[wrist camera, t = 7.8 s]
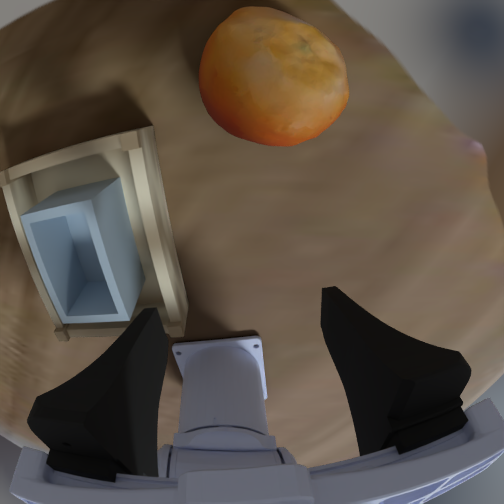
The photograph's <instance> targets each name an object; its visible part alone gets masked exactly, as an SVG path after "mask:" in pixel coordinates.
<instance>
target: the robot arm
mask: <svg viewBox="0 0 504 504" xmlns="http://www.w3.org/2000/svg"><path fill="white" fill-rule="evenodd" d="M321 328H322V332H323V335H324V339H325V342H326V345H327V347H328V350H329V352H330V355H331V357H332V359H333V362H334V364H335V366H336V369H337V371H338V373H339V376H340V378H341V381H342V383H343V386H344V389H345V392H346V396H347V399H348V403H349V407H350V411H351V415H352V419H353V423H354V427H355V432H356V437H357V442H358V447H359V453H360V457H356V458H352V459H348V460H344V461H340V462H336V463H331V464H327V465H322V466H317V467H312V468H307V467H306V466H303V465H299V464H297V462H296V460H295V458H294V456H293V455H292V454H291V453H290V452H289V451H288V450H287V449H286V448H284V447H278V448H277V447H276V440H275V436H269V433H268V425H267V418H266V410H265V403H264V400H265V399H266V398H267V390H266V380H265V371H264V361H263V352H262V342H261V338H260V337H259V336H247V337H239V338H229V339H219V340H208V341H197V342H184V343H174V344H173V346H172V351H173V353H174V356H175V359H176V362H177V364H178V367H179V370H180V372H181V375H182V377H183V386H182V396H181V406H180V417H179V428H178V433H174V441H173V446H172V445H169V444H164V445H163V446H162V448H160V449H159V450H158V451H157V424H158V408H159V400H160V395H161V390H162V385H163V380H164V375H165V370H166V364H167V356H168V339H167V336H166V333H165V330H164V327H163V324H162V321H161V318H160V315H159V312H158V309H157V307H153V308H144V309H143V310H142V311H141V312H140V313H139V314H138V316H137V317H136V318H135V319H134V320H133V321H132V323H131V324H130V325H129V326H128V327H127V328H126V330H125V331H124V332H123V333H122V334H121V335H120V337H119V338H118V339H117V340H116V341H115V342H114V343H113V344H112V345H111V346H110V347H109V348H108V349H107V350H106V351H105V352H104V353H103V354H102V355H101V356H100V357H99V358H98V359H96V360H95V361H94V362H93V363H92V364H91V365H89V366H88V367H87V368H85V369H84V370H83V371H81V372H80V373H79V374H77V375H76V376H75V377H73V378H71V379H70V380H68V381H67V382H65V383H63V384H62V385H60V386H58V387H56V388H54V389H52V390H50V391H48V392H46V393H44V394H42V395H40V396H37V398H36V400H35V402H34V404H33V407H32V409H31V411H30V414H29V416H28V419H27V423H28V425H29V427H30V429H31V430H32V431H33V432H34V434H35V435H36V436H37V437H38V438H39V439H40V440H41V441H43V442H44V443H45V444H46V445H47V446H48V447H49V448H50V451H49V455H48V454H46V453H45V452H42V451H40V450H36V449H32V448H29V447H25V446H24V447H23V448H22V451H21V455H20V457H19V460H18V463H17V466H16V470H15V473H14V476H13V480H12V483H11V486H10V490H9V491H10V493H12V494H13V495H15V496H16V497H18V498H20V499H21V500H23V501H24V502H26V503H27V504H422V503H424V502H427V501H429V500H431V499H432V498H435V497H437V496H439V495H441V494H442V493H444V492H446V491H448V490H450V489H452V488H454V487H456V486H457V485H459V484H461V483H463V482H464V481H466V480H468V479H470V478H471V477H473V476H475V475H477V474H478V473H480V472H481V471H483V470H485V469H486V468H487V467H488V466H490V465H491V464H492V463H493V462H494V461H495V460H496V459H497V458H498V457H499V456H500V455H501V454H502V453H504V420H503V418H502V417H501V415H500V413H499V412H498V410H497V409H496V407H495V405H494V404H493V402H492V401H491V399H490V398H487V399H485V400H483V401H481V402H479V403H477V404H475V405H473V406H471V407H469V408H468V409H467V410H466V411H465V412H463V410H462V408H461V406H462V405H463V401H462V399H461V398H460V395H461V393H462V391H463V390H464V388H465V386H466V385H467V383H468V381H469V379H470V376H471V368H470V366H469V364H468V363H467V362H466V360H465V359H464V357H463V356H462V355H461V353H460V352H458V351H454V350H449V349H445V348H441V347H437V346H434V345H431V344H428V343H425V342H422V341H420V340H417V339H415V338H412V337H410V336H408V335H406V334H404V333H401V332H399V331H398V330H396V329H394V328H392V327H390V326H388V325H387V324H385V323H383V322H382V321H380V320H379V319H377V318H376V317H374V316H373V315H371V314H370V313H369V312H367V311H366V310H364V309H363V308H362V307H361V306H359V305H358V304H357V303H355V302H354V301H353V300H352V299H350V298H349V297H348V296H347V295H346V294H344V293H343V292H342V291H341V290H340V289H338V288H337V287H336V286H333V287H327V288H322V302H321ZM255 344H258V345H255Z"/></svg>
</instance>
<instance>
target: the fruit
mask: <svg viewBox="0 0 504 504" xmlns="http://www.w3.org/2000/svg"><path fill="white" fill-rule="evenodd" d="M199 88H200V93H201V97H202V101H203V103H204V105H205V107H206V110H207V112H208V114H209V115H210V116H211V117H212V119H213V120H214V121H215V122H216V123H217V124H218V125H219V126H221V127H222V128H223V129H224V130H226V131H227V132H228V133H230V134H232V135H234V136H236V137H239V138H242V139H245V140H248V141H252V142H255V143H259V144H263V145H269V146H293V145H297V144H299V143H301V142H304V141H306V140H309V139H312V138H315V137H317V136H318V135H319V134H320V133H321V132H323V131H324V130H326V129H327V128H328V127H329V126H330V125H331V124H332V123H333V122H334V121H335V120H336V119H337V118H338V117H339V116H340V114H341V112H342V110H343V109H344V108H345V107H346V104H347V100H348V98H349V87H348V80H347V74H346V65H345V62H344V59H343V57H342V54H341V52H340V49H339V48H338V47H337V46H336V45H335V44H334V43H333V42H331V41H330V40H329V39H328V38H327V37H326V35H324V34H323V33H322V32H321V31H319V30H318V29H317V28H315V27H314V26H312V25H310V24H309V23H307V22H305V21H303V20H301V19H298V18H296V17H294V16H292V15H290V14H287V13H285V12H282V11H279V10H276V9H273V8H270V7H255V6H249V7H243V8H240V9H238V10H236V11H234V12H233V13H232V14H231V15H230V16H229V17H228V18H227V19H226V20H225V21H223V22H222V23H221V24H219V25H218V27H217V28H216V29H215V31H214V32H213V33H212V35H211V36H210V38H209V39H208V41H207V43H206V45H205V48H204V51H203V54H202V58H201V62H200V68H199Z"/></svg>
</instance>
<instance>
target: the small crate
mask: <svg viewBox="0 0 504 504" xmlns="http://www.w3.org/2000/svg"><path fill="white" fill-rule="evenodd" d="M20 217H21V221H22V224H23V227H24V230H25V233H26V236H27V239H28V242H29V245H30V248H31V250H32V253H33V256H34V259H35V261H36V264H37V266H38V269H39V271H40V274H41V276H42V279H43V281H44V284H45V286H46V288H47V291H48V293H49V295H50V297H51V300H52V302H53V304H54V306H55V308H56V310H57V312H58V314H59V317H60V319H61V321H62V323H63V324H64V323H94V322H115V321H130V319H131V316H132V313H133V311H134V308H135V305H136V303H137V300H138V298H139V295H140V292H141V290H142V287H143V285H144V282H145V280H146V279H145V275H144V272H143V268H142V265H141V261H140V258H139V254H138V250H137V246H136V243H135V239H134V235H133V231H132V227H131V223H130V219H129V215H128V210H127V206H126V202H125V197H124V193H123V188H122V183H121V178H120V177H117V178H113V179H108V180H103V181H99V182H94V183H90V184H85V185H81V186H77V187H73V188H68V189H64V190H60V191H57V192H55V193H54V194H52V195H50V196H49V197H47V198H46V199H44V200H43V201H41V202H40V203H38V204H37V205H35V206H34V207H32V208H31V209H29V210H28V211H26V212H25V213H24V214H22V215H21V216H20Z"/></svg>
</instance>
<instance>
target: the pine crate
mask: <svg viewBox="0 0 504 504" xmlns="http://www.w3.org/2000/svg"><path fill="white" fill-rule="evenodd" d="M117 177H120V178H121V183H122V188H123V193H124V197H125V202H126V206H127V210H128V215H129V219H130V223H131V227H132V231H133V235H134V239H135V243H136V246H137V250H138V254H139V258H140V261H141V265H142V268H143V272H144V275H145V279H146V280H145V282H144V285H143V287H142V290H141V292H140V295H139V298H138V300H137V303H136V305H135V308H134V311H133V313H132V316H131V319H130V321H115V322H94V323H64V324H63V323H62V321H61V319H60V317H59V314H58V312H57V310H56V308H55V306H54V304H53V302H52V300H51V297H50V295H49V293H48V291H47V288H46V286H45V284H44V281H43V279H42V276H41V274H40V271H39V269H38V266H37V264H36V261H35V259H34V256H33V253H32V250H31V248H30V245H29V242H28V239H27V236H26V233H25V230H24V227H23V224H22V221H21V217H20V216H21V215H22V214H24V213H25V212H26V211H28V210H29V209H31V208H32V207H34V206H35V205H37V204H38V203H40V202H41V201H43V200H44V199H46V198H47V197H49V196H50V195H52V194H54V193H55V192H57V191H60V190H64V189H68V188H73V187H77V186H81V185H85V184H90V183H94V182H99V181H103V180H108V179H113V178H117ZM0 187H2V188H3V192H4V196H5V200H6V203H7V207H8V210H9V214H10V217H11V220H12V224H13V227H14V230H15V233H16V236H17V239H18V241H19V244H20V247H21V250H22V253H23V255H24V258H25V260H26V263H27V266H28V268H29V270H30V273H31V275H32V278H33V280H34V282H35V285H36V287H37V289H38V292H39V294H40V296H41V298H42V300H43V302H44V305H45V307H46V309H47V311H48V313H49V315H50V317H51V319H52V321H53V323H54V325H55V327H56V329H55V331H54V333H55V335H56V337H57V338H58V340H59V341H69V339H70V337H107V336H120V335H121V334H122V333H123V332H124V331H125V330H126V328H127V327H128V326H129V325H130V324H131V323H132V321H133V320H134V319H135V318H136V317H137V316H138V314H139V313H140V312H141V311H142V310H143V309H144V308H153V307H157V309H158V312H159V315H160V318H161V321H162V324H163V327H164V330H165V333H169V335H170V338H173V337H184V333H185V326H186V319H187V313H188V306H189V302H188V298H187V294H186V290H185V286H184V282H183V278H182V274H181V269H180V265H179V261H178V256H177V252H176V247H175V243H174V238H173V233H172V228H171V224H170V219H169V214H168V209H167V204H166V198H165V193H164V188H163V182H162V177H161V171H160V165H159V159H158V153H157V147H156V140H155V134H154V127H153V126H148V127H144V128H139V129H134V130H130V131H125V132H121V133H117V134H113V135H109V136H105V137H101V138H97V139H93V140H90V141H86V142H83V143H79V144H76V145H72V146H69V147H66V148H63V149H59V150H56V151H53V152H50V153H47V154H44V155H41V156H38V157H35V158H33V159H30V160H27V161H24V162H22V163H20V164H17V165H15V166H13V167H10V168H8V169H6V170H3V171H1V172H0Z"/></svg>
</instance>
